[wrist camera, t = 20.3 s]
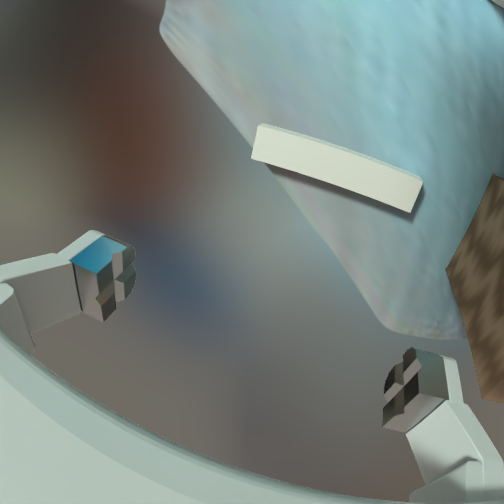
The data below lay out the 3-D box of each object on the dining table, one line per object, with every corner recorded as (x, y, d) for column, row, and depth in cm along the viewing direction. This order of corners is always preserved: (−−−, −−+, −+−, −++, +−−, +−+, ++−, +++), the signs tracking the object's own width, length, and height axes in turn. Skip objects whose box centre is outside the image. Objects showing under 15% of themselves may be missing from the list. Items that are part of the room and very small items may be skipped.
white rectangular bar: (263, 122, 44) (258, 125, 41) (419, 175, 40) (423, 181, 38) (256, 154, 47) (251, 158, 44) (407, 205, 43) (410, 213, 41)
